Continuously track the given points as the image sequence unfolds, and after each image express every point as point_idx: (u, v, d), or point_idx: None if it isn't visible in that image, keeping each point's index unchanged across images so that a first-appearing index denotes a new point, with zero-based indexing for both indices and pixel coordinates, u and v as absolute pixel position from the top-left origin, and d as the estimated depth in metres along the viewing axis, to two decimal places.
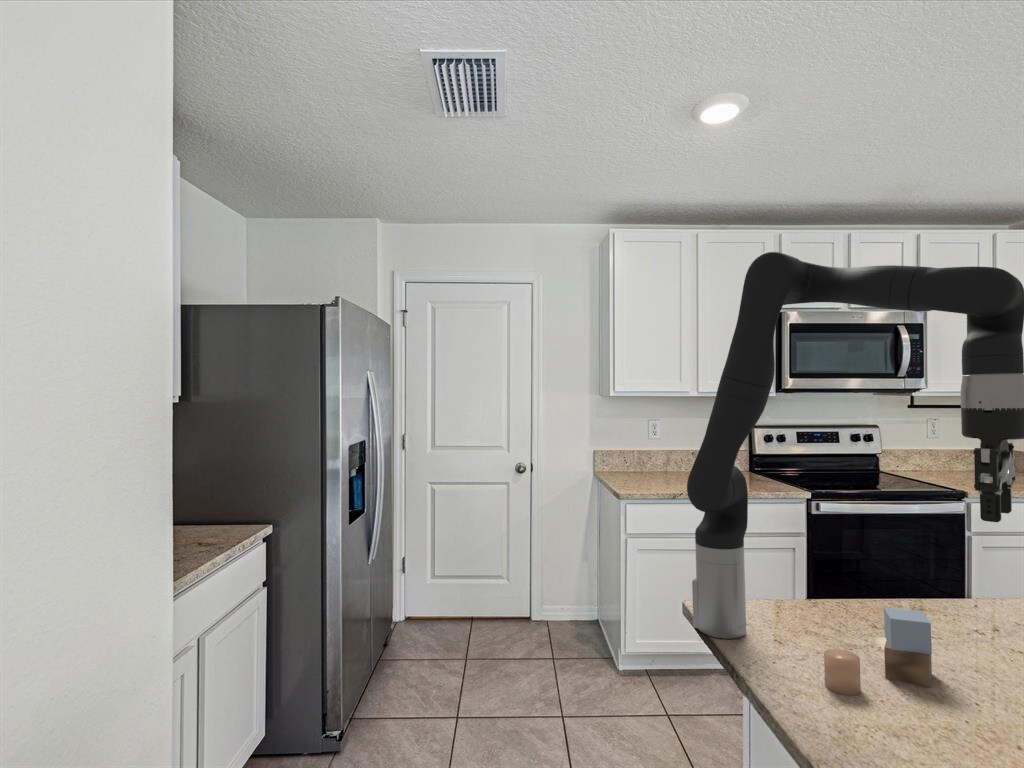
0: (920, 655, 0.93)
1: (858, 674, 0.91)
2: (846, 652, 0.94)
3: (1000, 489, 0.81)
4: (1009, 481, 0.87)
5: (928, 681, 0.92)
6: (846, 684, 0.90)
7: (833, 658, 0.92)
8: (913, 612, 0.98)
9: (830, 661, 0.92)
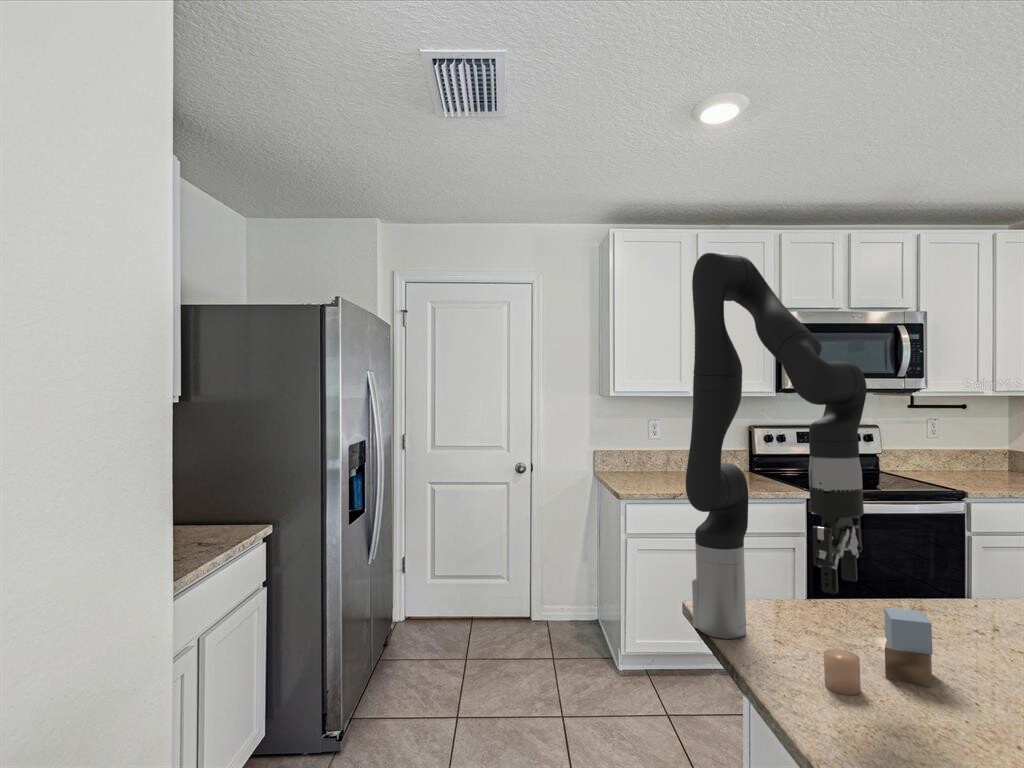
0: (920, 655, 0.93)
1: (858, 674, 0.91)
2: (846, 652, 0.94)
3: (835, 564, 0.89)
4: (854, 552, 0.95)
5: (928, 681, 0.92)
6: (845, 684, 0.90)
7: (833, 658, 0.92)
8: (913, 612, 0.98)
9: (830, 661, 0.92)
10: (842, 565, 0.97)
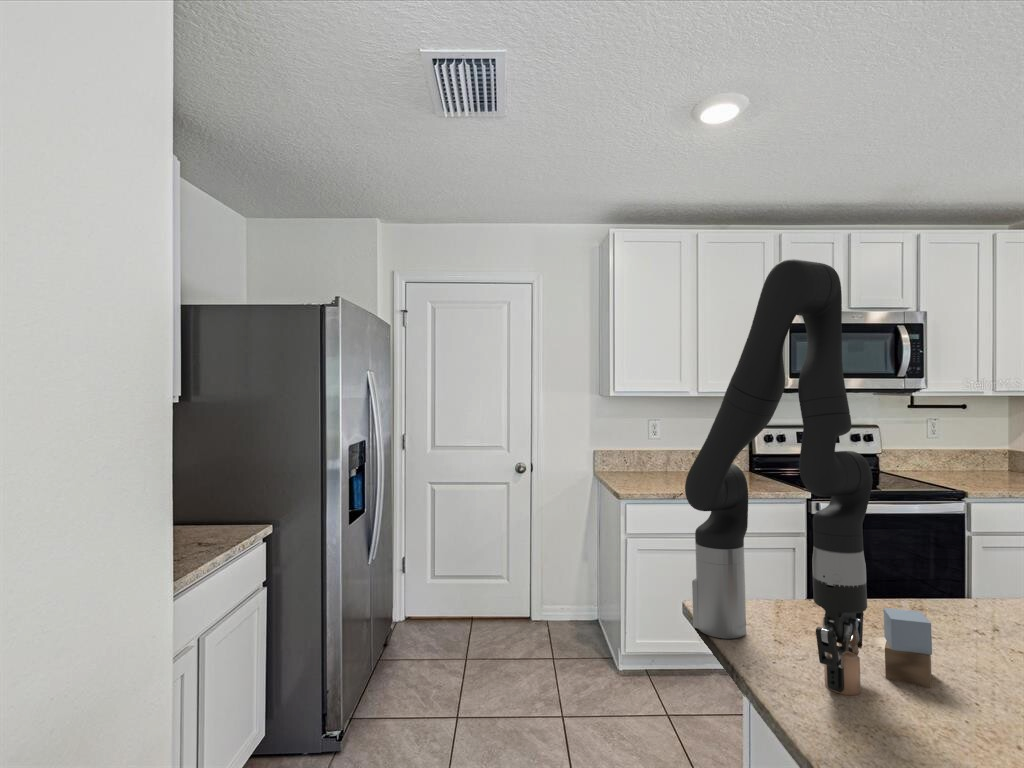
0: (920, 655, 0.93)
1: (858, 674, 0.91)
2: None
3: (841, 663, 0.90)
4: (854, 648, 0.94)
5: (928, 681, 0.92)
6: (845, 684, 0.90)
7: None
8: (912, 612, 0.98)
9: None
10: None
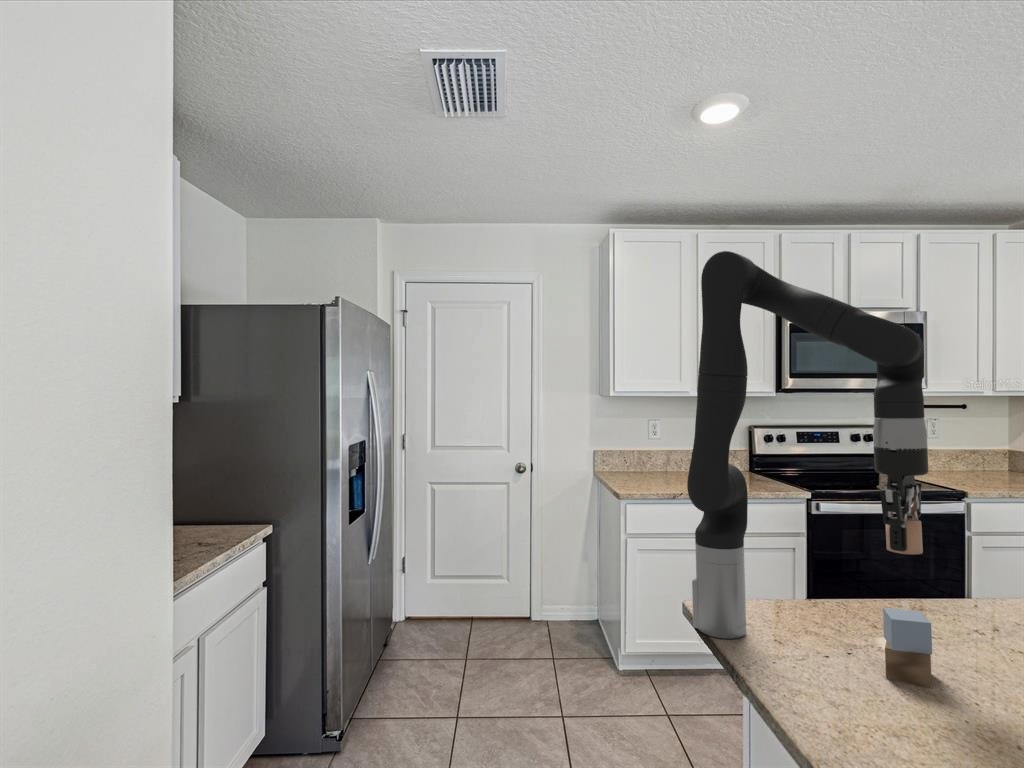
0: (921, 655, 0.93)
1: (920, 535, 0.95)
2: (907, 518, 0.98)
3: (905, 523, 0.94)
4: (914, 515, 0.98)
5: (929, 681, 0.92)
6: (908, 544, 0.95)
7: None
8: (912, 612, 0.98)
9: None
10: None
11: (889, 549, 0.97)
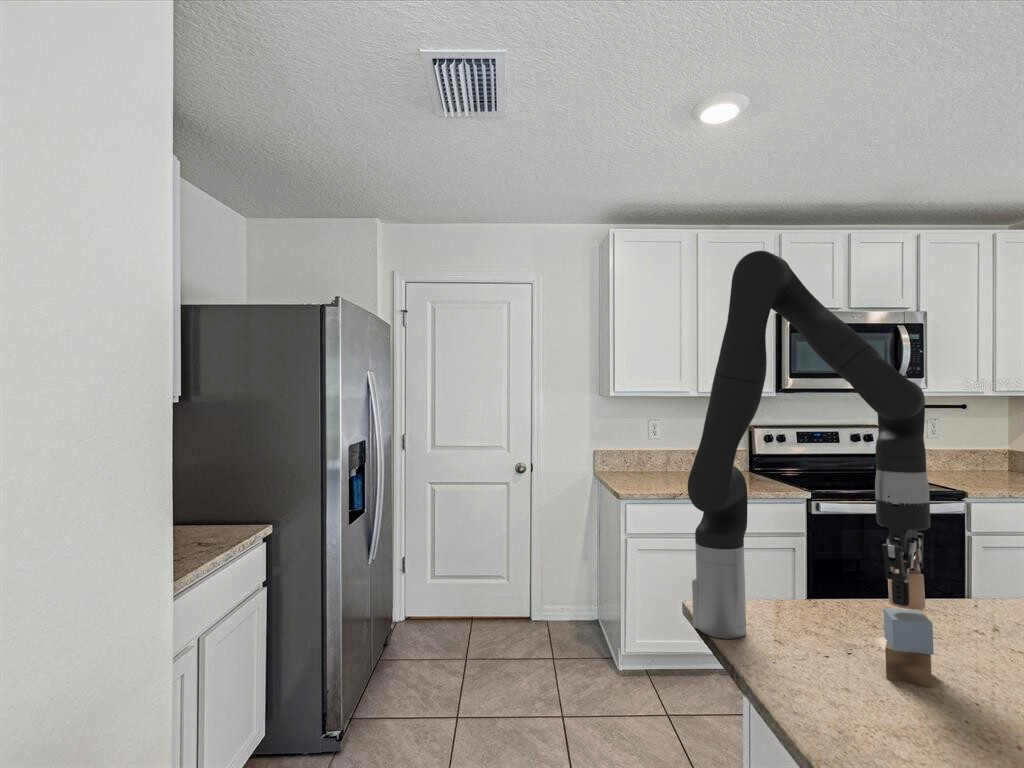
0: (921, 655, 0.93)
1: (923, 589, 0.95)
2: (909, 571, 0.98)
3: (907, 578, 0.94)
4: (916, 567, 0.98)
5: (929, 681, 0.92)
6: (911, 599, 0.94)
7: None
8: (912, 612, 0.98)
9: None
10: None
11: (891, 602, 0.97)
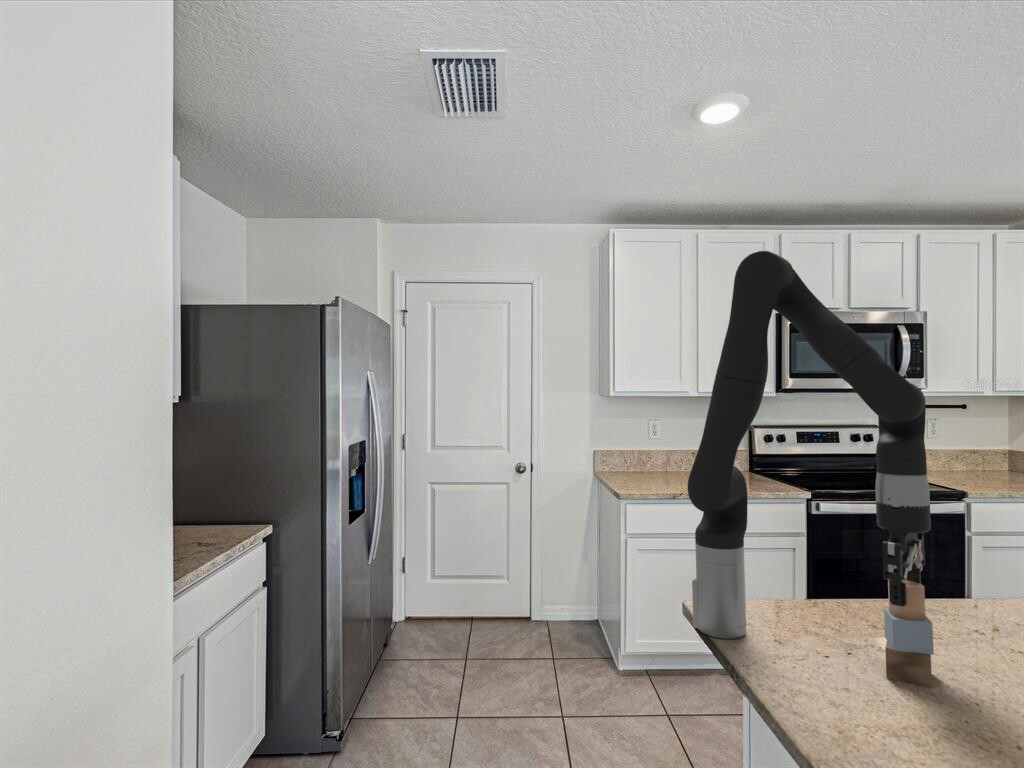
0: (921, 655, 0.93)
1: (923, 600, 0.95)
2: (909, 582, 0.98)
3: (905, 578, 0.93)
4: (918, 566, 0.98)
5: (929, 681, 0.92)
6: (911, 610, 0.94)
7: None
8: None
9: None
10: None
11: (892, 613, 0.97)
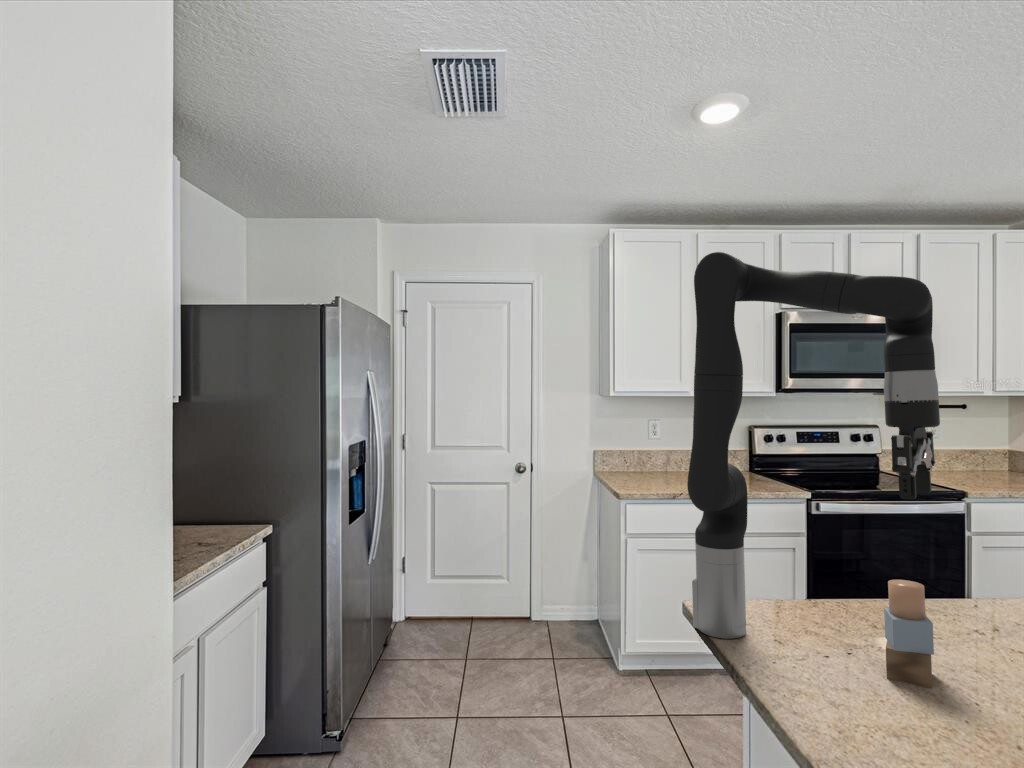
0: (922, 655, 0.93)
1: (923, 600, 0.95)
2: (910, 581, 0.98)
3: (914, 470, 0.93)
4: (928, 464, 0.99)
5: (930, 681, 0.92)
6: (911, 609, 0.94)
7: (898, 585, 0.96)
8: None
9: (895, 588, 0.96)
10: (915, 478, 1.00)
11: (892, 613, 0.97)
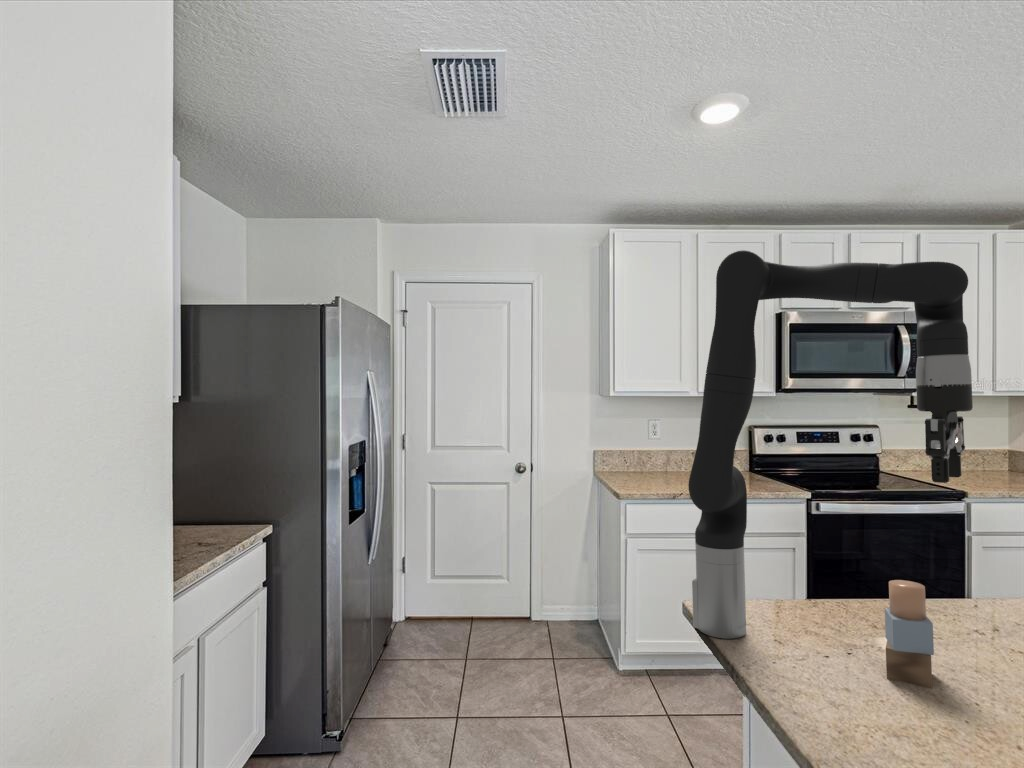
0: (922, 655, 0.93)
1: (923, 601, 0.95)
2: (911, 582, 0.98)
3: (947, 454, 0.94)
4: (958, 449, 0.99)
5: (930, 681, 0.92)
6: (911, 610, 0.94)
7: (898, 586, 0.96)
8: None
9: (895, 589, 0.96)
10: None
11: (892, 613, 0.97)
